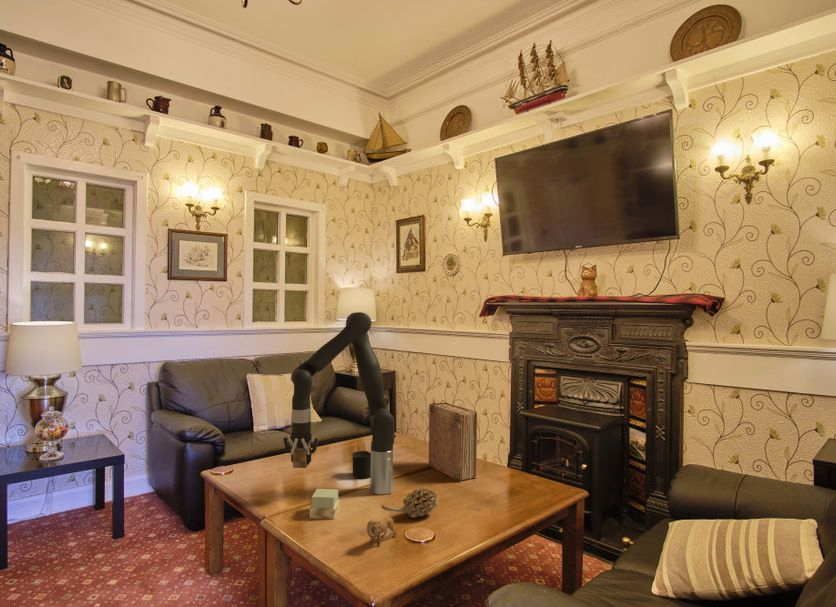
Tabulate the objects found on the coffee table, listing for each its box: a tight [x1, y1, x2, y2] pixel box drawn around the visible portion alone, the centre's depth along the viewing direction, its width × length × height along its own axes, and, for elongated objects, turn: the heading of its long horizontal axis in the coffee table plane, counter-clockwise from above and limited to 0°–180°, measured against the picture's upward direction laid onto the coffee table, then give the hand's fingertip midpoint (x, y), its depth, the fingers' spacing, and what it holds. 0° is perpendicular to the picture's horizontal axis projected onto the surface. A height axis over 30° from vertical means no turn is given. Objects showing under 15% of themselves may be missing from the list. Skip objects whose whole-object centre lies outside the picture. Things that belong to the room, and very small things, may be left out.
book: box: [428, 402, 478, 483], centre depth 233 cm, size 25×9×30 cm, turn 32°
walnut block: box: [292, 448, 310, 469], centre depth 196 cm, size 5×5×6 cm
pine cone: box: [380, 487, 439, 519], centre depth 182 cm, size 22×10×10 cm, turn 115°
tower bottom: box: [309, 499, 341, 520], centre depth 184 cm, size 9×9×4 cm
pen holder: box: [351, 450, 371, 480], centre depth 226 cm, size 9×9×10 cm
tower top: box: [311, 488, 339, 509], centre depth 184 cm, size 8×8×4 cm
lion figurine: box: [366, 517, 397, 548], centre depth 163 cm, size 15×5×9 cm, turn 152°
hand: (301, 463), depth 196 cm, fingers closed on walnut block, 5 cm apart
